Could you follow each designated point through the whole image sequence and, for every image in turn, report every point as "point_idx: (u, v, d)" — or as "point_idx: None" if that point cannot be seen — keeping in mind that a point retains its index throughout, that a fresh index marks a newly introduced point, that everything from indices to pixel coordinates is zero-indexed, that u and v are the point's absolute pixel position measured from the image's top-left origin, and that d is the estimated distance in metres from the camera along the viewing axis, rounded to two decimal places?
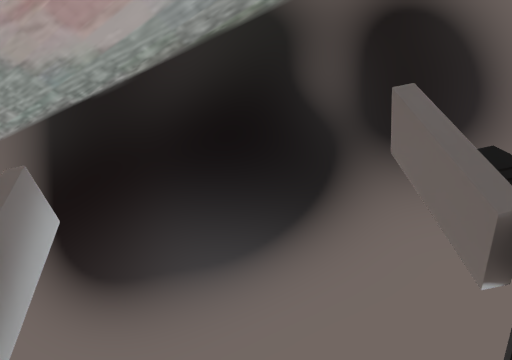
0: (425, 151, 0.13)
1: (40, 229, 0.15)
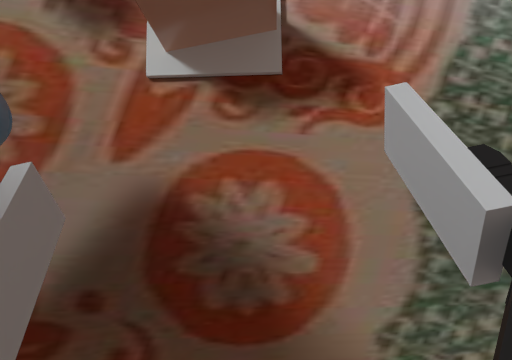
0: (416, 150, 0.13)
1: (47, 225, 0.15)
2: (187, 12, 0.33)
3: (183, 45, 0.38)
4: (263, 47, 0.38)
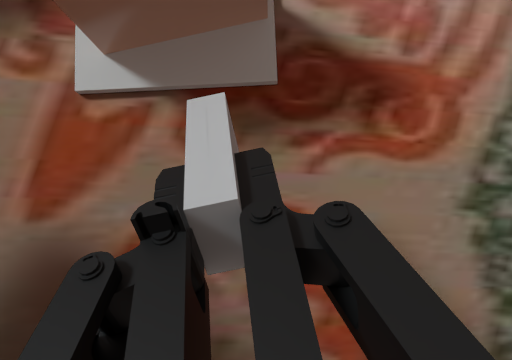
0: None
1: None
2: None
3: (128, 45, 0.25)
4: (248, 45, 0.26)
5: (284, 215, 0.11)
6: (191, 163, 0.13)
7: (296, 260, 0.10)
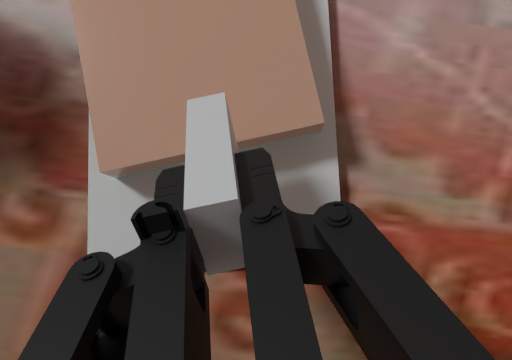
0: None
1: None
2: (145, 34, 0.20)
3: (135, 153, 0.19)
4: (306, 212, 0.20)
5: (284, 215, 0.11)
6: (191, 163, 0.13)
7: (296, 260, 0.10)
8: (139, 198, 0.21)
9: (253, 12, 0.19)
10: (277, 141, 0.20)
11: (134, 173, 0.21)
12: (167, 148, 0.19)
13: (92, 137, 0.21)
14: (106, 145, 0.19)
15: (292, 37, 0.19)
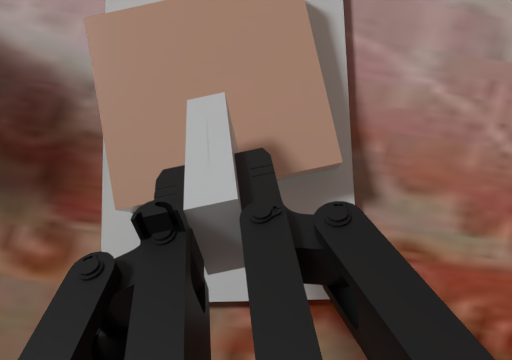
0: None
1: None
2: (162, 70, 0.19)
3: (150, 191, 0.19)
4: None
5: (284, 215, 0.11)
6: (191, 163, 0.13)
7: (296, 260, 0.10)
8: None
9: (271, 49, 0.19)
10: (293, 177, 0.20)
11: None
12: None
13: (106, 170, 0.21)
14: (122, 182, 0.19)
15: (310, 75, 0.19)
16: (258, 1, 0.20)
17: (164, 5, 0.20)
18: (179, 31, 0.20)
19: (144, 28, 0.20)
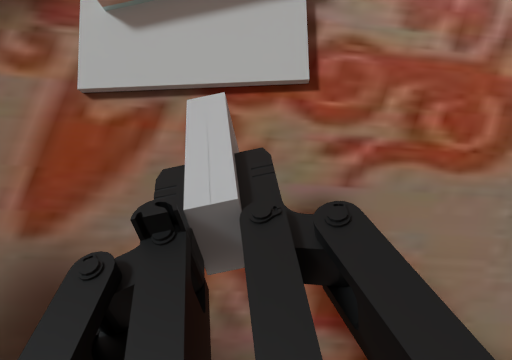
0: None
1: None
2: None
3: None
4: (276, 38, 0.22)
5: (284, 215, 0.11)
6: (191, 163, 0.13)
7: (296, 260, 0.10)
8: (125, 27, 0.23)
9: None
10: None
11: (121, 4, 0.23)
12: None
13: None
14: None
15: None
16: None
17: None
18: None
19: None
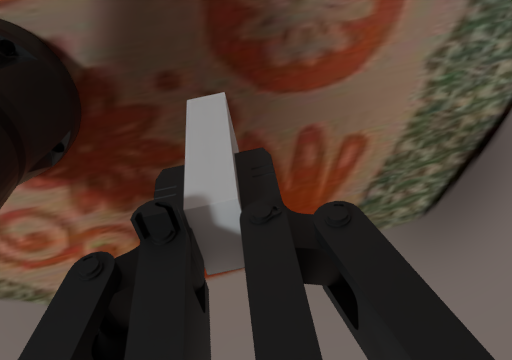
0: None
1: None
2: None
3: None
4: None
5: (284, 215, 0.11)
6: (191, 163, 0.13)
7: (296, 260, 0.10)
8: None
9: None
10: None
11: None
12: None
13: None
14: None
15: None
16: None
17: None
18: None
19: None
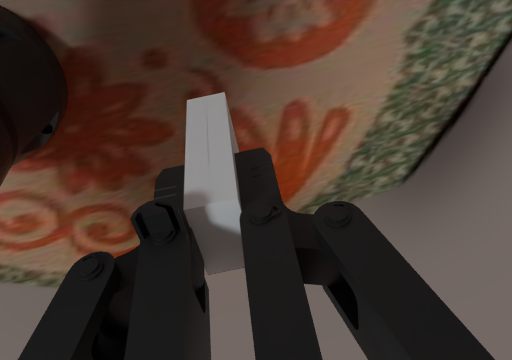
0: None
1: None
2: None
3: None
4: None
5: (284, 215, 0.11)
6: (191, 163, 0.13)
7: (296, 260, 0.10)
8: None
9: None
10: None
11: None
12: None
13: None
14: None
15: None
16: None
17: None
18: None
19: None
